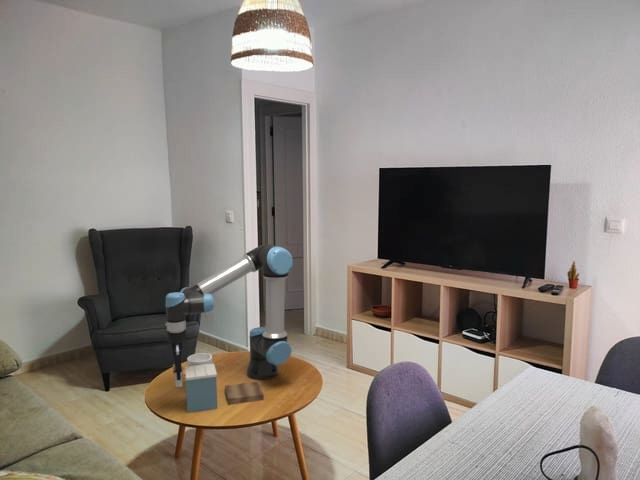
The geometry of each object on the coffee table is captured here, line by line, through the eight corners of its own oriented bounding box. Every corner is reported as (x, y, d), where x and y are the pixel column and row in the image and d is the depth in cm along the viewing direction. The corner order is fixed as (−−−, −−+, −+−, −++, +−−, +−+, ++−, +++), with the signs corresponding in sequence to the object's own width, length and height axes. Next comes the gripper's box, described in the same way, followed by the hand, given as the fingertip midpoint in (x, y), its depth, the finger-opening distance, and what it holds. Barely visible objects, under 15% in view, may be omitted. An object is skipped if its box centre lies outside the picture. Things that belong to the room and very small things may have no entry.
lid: (214, 368, 217) (213, 355, 216) (217, 379, 205) (216, 366, 204) (173, 373, 212) (172, 360, 211) (173, 385, 200) (173, 371, 199)
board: (257, 386, 228) (257, 381, 228) (263, 399, 215) (263, 394, 215) (224, 391, 224) (224, 385, 223) (228, 404, 210) (228, 399, 210)
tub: (214, 396, 218) (213, 365, 217) (217, 408, 207) (216, 376, 205) (186, 400, 215) (185, 369, 213) (187, 412, 204) (186, 380, 202)
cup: (183, 389, 225) (181, 359, 223) (197, 380, 235) (196, 351, 234) (204, 393, 221) (202, 363, 219) (217, 383, 231) (217, 354, 229)
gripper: (166, 325, 210) (169, 377, 214) (167, 337, 195) (169, 394, 198) (184, 323, 213) (187, 375, 216) (186, 335, 197) (189, 391, 200)
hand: (178, 384), depth 207 cm, fingers closed on lid, 3 cm apart
